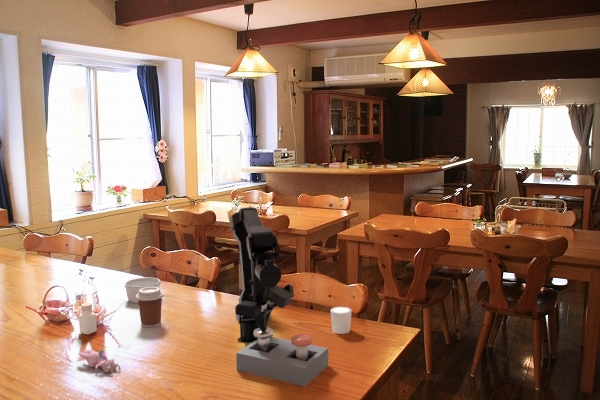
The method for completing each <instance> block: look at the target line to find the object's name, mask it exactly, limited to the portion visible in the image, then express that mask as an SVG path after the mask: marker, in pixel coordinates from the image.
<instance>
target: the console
mask: <svg viewBox="0 0 600 400" xmlns="http://www.w3.org/2000/svg"><path fill="white" fill-rule="evenodd" d="M235 359H236V371H238V372H243V373H247V374H251V375H255V376H259V377H262V378H267V379H272V380H275V381H280V382H283V383H288V384H292V385H296V386H299V387H303V388H305V387H306V386H307V385H308V384H309V383H311V382H312V381H313V380H314V379H315V378H316V377H317V376H318V375H319V374H321V372H322V371H325V369H326V368H327V367H328V366H329V348H328V347H326V346H325V347H324V346H320V345H314V344H310V345H308V359H307V360H304V361H302V360H298V359H296V346H295V345H293V344H292V343H291V339H284V338H281V337H280V338H279V337H276V336H275V337H274V336H272V337H270V351H268V352H261V351H258V339H257V340H255V341H254V342H252V343H248V345H246V346H245V347H243V348H242V349H240V350H238V351H237V352H236V356H235Z"/></svg>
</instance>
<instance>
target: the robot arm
mask: <svg viewBox="0 0 600 400" xmlns="http://www.w3.org/2000/svg"><path fill="white" fill-rule="evenodd" d="M259 216H260V215H259V213H258V209H257V207H254V206H253V207H251V206H250V207H241V208H239V210H238V211H237V212H235V213H233V214H232V215H231V216H230V220H229V225H230V231H232V236H233V238H234V239H235V240H236V242H237V243H238V248H239V256H240V261H241V273H242V284H243V291H242V293H241V295H240V294H239V298H238V303H237V304H236V305H235V307H234V309H235V310H234V311H235V318H236V319H235V320H236V321H237V324H238V325H239V329H240V331H239V334H240V336H239V337H238V338H237V341H238V342H243V343H246V344H247V343H248V344H251V343H252V342H254V341H255V340H257V339H258V338H256V337H255V336H254V330H255V329H257V328H260V329H261V331H266V329H267V328H268V324H269V321H270V317H271V315H272V312H273V310H275V309H276V308H277V307H278V308H280V309H284V308H285V307H286V306H289V305H290V304H291V300H292V299H293V298H294V297H295V294H294V293H295V292H294V286H293V285H292V284H290V283H288V284H286V285H285V286H284V285H283V286H282V285H278V284H279V283H280V282H281V279H282V272H281V269H280V268H279V267H278V265H276V263H275V259H280V253H281V249H280V245H279V240H278V238H277V236H276V234H275V233H274V232H273V231H272V230H271V228H270V227H266V226H264V224H263V223H262V221H261V219H260V217H259Z"/></svg>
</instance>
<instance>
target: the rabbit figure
mask: <svg viewBox="0 0 600 400" xmlns="http://www.w3.org/2000/svg"><path fill="white" fill-rule="evenodd" d="M77 355H79V356H80V357H81V358H83V359H84V360H86V362H87V365H88V366H89V367H91V368H94V369H95V370H97V369H98V368H99V367H100V368H102V369H103V372H104V373H106V374H110V375H113V374H114V371H116V370H115V369H117V368H118V369H117V370H118V371H121V365H119V363H115V359H108V357H107V355H106V354H105V352H104V350H103V349H100V350H99V351H96V350H94V349H90V348H89V349H85V350H82V352H78V353H77ZM109 372H110V373H109Z"/></svg>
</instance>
